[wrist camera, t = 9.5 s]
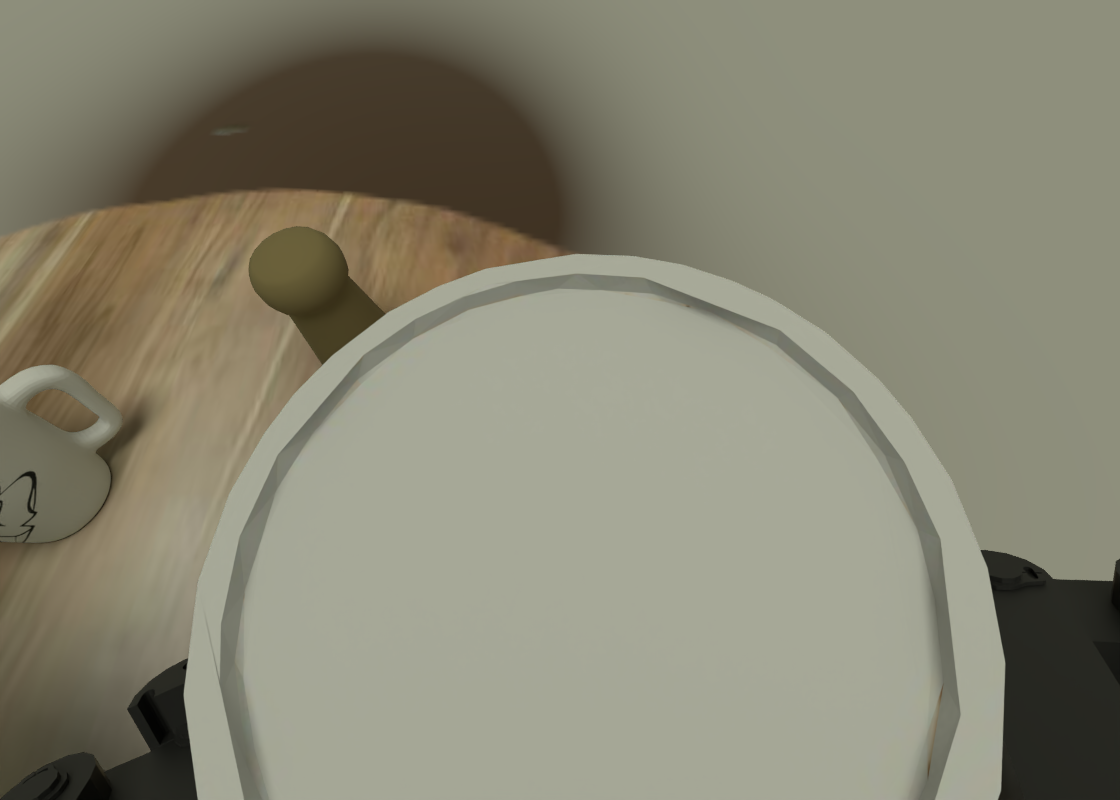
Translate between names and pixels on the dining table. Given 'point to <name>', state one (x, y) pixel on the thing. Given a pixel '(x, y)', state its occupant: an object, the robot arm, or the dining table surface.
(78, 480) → the mug
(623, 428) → the disposable coffee cup
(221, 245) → the dining table surface
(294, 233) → the olive pawn
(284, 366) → the dining table surface
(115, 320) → the dining table surface
